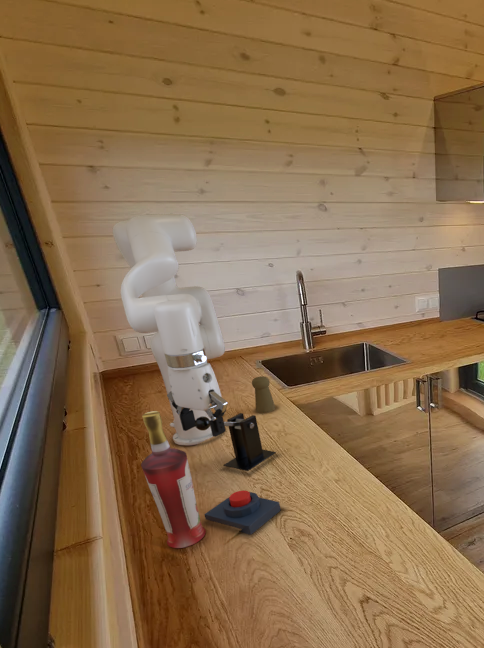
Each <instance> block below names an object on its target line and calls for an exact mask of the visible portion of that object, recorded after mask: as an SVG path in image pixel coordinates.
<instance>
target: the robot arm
mask: <svg viewBox="0 0 484 648" xmlns="http://www.w3.org/2000/svg"><path fill="white" fill-rule="evenodd" d="M112 227H113V228H112V235H113V239H114V242H115V245H116V247H117V249H118V250H119V253H120V255H121V257H123V259H124V260H125V262H126V263H127V264H128V266H129V267H130V269H129V270H128V271H127V273H126V274H125V276H124V278H123V279H122V281H121V285H120V299H121V302H122V306H123V310H124V314H125V317H126V320H127V322H128V325H129V326H130V328H131V329H132V330H133V331H135V332H137V333H139V334H151V333H153V334H152V336H151V337H150V339H149V347H150V351H151V353H152V355H153V357H154V359H155V361H156V364H157V366H158V368H159V371H160V374H161V377H162V381H163V384H164V387H165V390H166V398H168V402H169V406H170V410H171V413H172V416H173V422H170V423H169V427H170V428H173V429H174V430H175V432H174V434H173V435H172V440H173V443H174V444H176V445H179V446H197V445H200V444H201V443H203V442H205V441H207V440H209V439H211V438H215V437H219V436H220V435H222V434H224V433H226V431H227V430H226V426H225V425H224V422H225V420H224V416H225V413H226V412H227V407H228V406H229V405H228V404H229V403H228V401H227V400H226V399H225V398H223V397H222V393H221V392H222V391H221V389H220V385H219V383H218V379H217V376H216V374H215V371H214V369H213V367H212V366H211V365H212V364H211V363H210V362H208V360H212V359H216V358H220V357H222V356H223V355H224V354H225V352H226V344H225V340H224V339H225V338H224V335H223V332H222V328H221V326H220V321H219V317H218V315H217V312H216V308H215V305H214V302H213V299H212V296H211V295H210V293H209V291H208V290H207V289H206V288H204V287H202V286H195V285H194V286H184V287H180V286H178V285H177V280H176V277H175V276H176V275H177V274H178V272H179V269H180V263H179V261H178V258H177V255H176V253H177V252H178V253H179V252H189V251H192V250H194V249H196V247H197V244H198V235H197V231H196V228H195V226H194V224H193V222H192V221H191V219H190V218H189V217H188V216H187V215H185V214H181V213H155V214H138V215H135V216H132V217H131V218H129V219H126V220H121V221H119V222H116V223H115V224H114V225H113V226H112ZM141 296H142V297H141ZM213 409H214V412H213ZM202 416H203V417H207V418H208V419H209V420H210V421H209V423H210V427H209V428H208V429H207V430H203V431H202V430H198V429H197V428H196V427H195V421H196V419H197V418H199V417H202Z"/></svg>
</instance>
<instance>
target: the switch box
mask: <svg viewBox="0 0 484 648" xmlns="http://www.w3.org/2000/svg"><path fill="white" fill-rule="evenodd" d="M248 492H249V493H250V497H251V502H250V503H249V504H247V505H245V506H242V507H232V506H231V504H230V500H229V497H227V498H226V499H224V500H223V501H221V502H220V503H218V504H217V505H216V506H214V507H213V508H211V509H210V510H208V511H206V512H205V513H204V519H205V520H207V521H211V522H215V523H217V524H221V525H226V526H229V527H233V528H236V529H240V530H239V533H242V534H246V535H251V536H252V535H253V534H254V533H255V532H257V530H259V529H260V528H262V527H263V526H264V525H265V524H266V523H267V522H269V521H270V520H272V518H274V517H275V516H276V515H277V514H278V513H280V512H281V510H282V509H281V505H280V502H279V501H276V500H272V499H268V498H264V497H260V496H259V495H258V494H257V493H256V492H253V491H248Z"/></svg>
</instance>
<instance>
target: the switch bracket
mask: <svg viewBox="0 0 484 648" xmlns="http://www.w3.org/2000/svg"><path fill="white" fill-rule="evenodd" d="M236 419H244V420H243V421H241V422H240V427H241V429H236V428H235V426H227V427H228V430H229V434H230V439H231V444H232V448H233V452H234V458H232V459H230V460H229V461H227V462H226V463H224V464H223V467H226V468H227V467H228V468H231V469H237V470H241V471H245V472H249V471H251V470H252V469H254V468H255V467H256V466H258V465H260V464H261V463H264V461H266V460H268V459H269V458H270V457H272V456H273V455H275V454H276V453H277V452H276V451H273V450H268V449H263V445H262V441H261V435H260V431H259V426H258V421H257V416H256V414H255V415H254V414H252V415H250V416H248V417H246V418H245V416H244V413H242V412H239V413H238V414H235V415H234V416H233V415H232V416H231V417H230V418H228V419H227V420H226V422H235V421H236Z"/></svg>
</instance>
